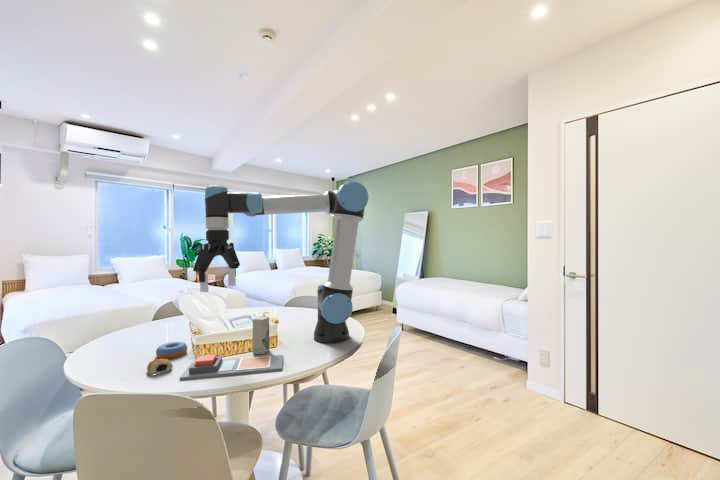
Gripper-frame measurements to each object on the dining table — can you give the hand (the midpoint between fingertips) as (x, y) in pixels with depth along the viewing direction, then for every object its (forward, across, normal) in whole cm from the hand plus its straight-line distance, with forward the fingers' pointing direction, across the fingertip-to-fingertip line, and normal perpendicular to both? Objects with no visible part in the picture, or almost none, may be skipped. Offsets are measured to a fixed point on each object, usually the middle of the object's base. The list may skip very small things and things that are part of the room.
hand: (219, 288), depth 114 cm
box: (+25, -8, +11) cm, 29 cm away
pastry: (+25, +15, -11) cm, 31 cm away
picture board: (+25, +6, +12) cm, 28 cm away
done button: (+23, +11, +4) cm, 25 cm away
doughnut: (+25, +4, -19) cm, 31 cm away
